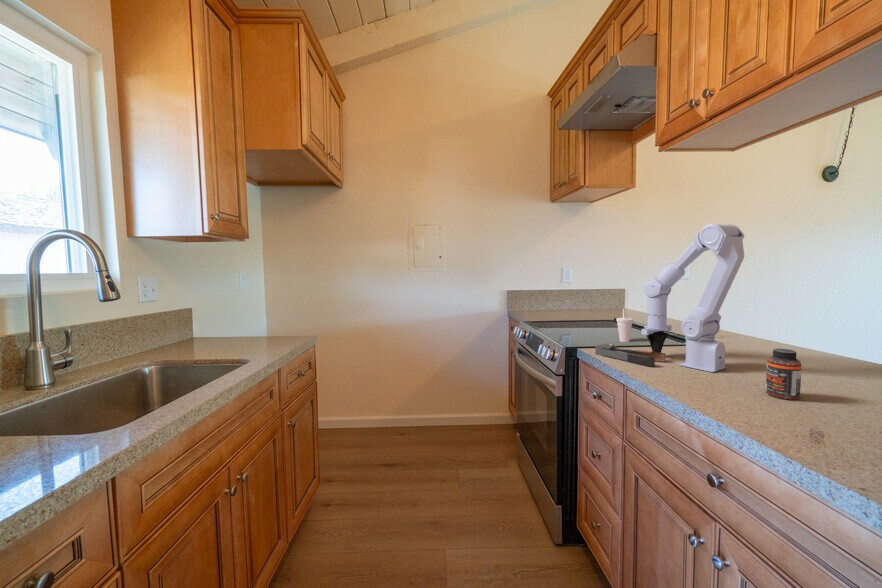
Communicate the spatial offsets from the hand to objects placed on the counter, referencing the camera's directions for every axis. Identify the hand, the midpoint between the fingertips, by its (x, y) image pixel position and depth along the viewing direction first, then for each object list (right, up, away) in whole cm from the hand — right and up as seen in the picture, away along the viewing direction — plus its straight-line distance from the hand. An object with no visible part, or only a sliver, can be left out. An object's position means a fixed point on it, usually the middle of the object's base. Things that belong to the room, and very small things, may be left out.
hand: (656, 352), depth 122 cm
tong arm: (-8, -1, -1) cm, 8 cm away
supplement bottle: (+7, -4, -38) cm, 39 cm away
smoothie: (+3, 0, +26) cm, 27 cm away
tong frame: (-12, -2, -2) cm, 12 cm away
